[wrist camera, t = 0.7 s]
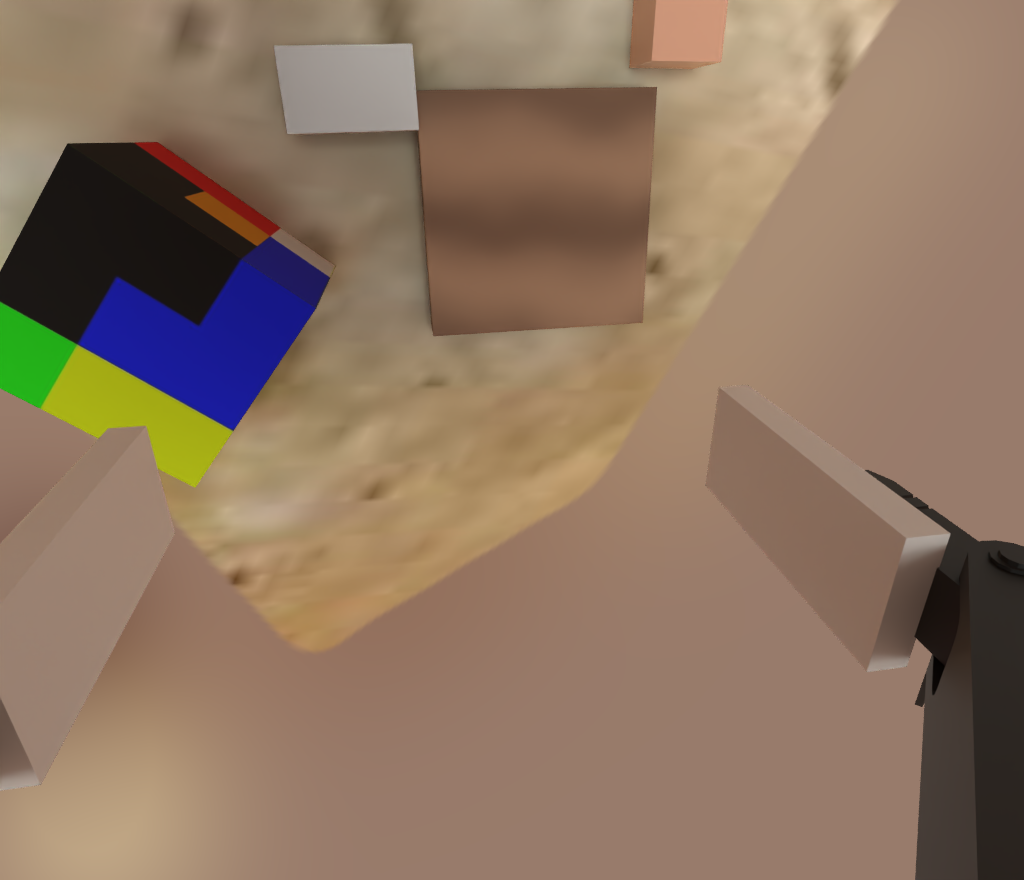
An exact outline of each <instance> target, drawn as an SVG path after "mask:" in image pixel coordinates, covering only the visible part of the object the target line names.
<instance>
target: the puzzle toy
mask: <svg viewBox="0 0 1024 880" xmlns="http://www.w3.org/2000/svg"><path fill="white" fill-rule="evenodd" d="M335 267H336V266H334V265H333V264H332V263H330V262H329V261H327V260H326V259H324V258H323V257H322V256H320V255H319V254H317V253H316V252H314V251H313V250H311V249H310V248H309V247H307V246H306V245H304V244H303V243H301V242H300V241H299V240H297V239H296V238H294V237H293V236H291V235H290V234H289V233H287V232H286V231H284V230H283V229H281V228H280V227H278V226H277V225H276V224H274V223H273V222H271V221H270V220H268V219H267V218H266V217H264V216H263V215H261V214H260V213H258V212H257V211H255V210H254V209H253V208H251V207H250V206H248V205H247V204H245V203H244V202H243V201H241V200H240V199H238V198H237V197H235V196H234V195H233V194H231V193H230V192H228V191H227V190H225V189H224V188H222V187H221V186H220V185H218V184H217V183H215V182H214V181H212V180H211V179H210V178H208V177H207V176H205V175H204V174H202V173H201V172H199V171H198V170H197V169H195V168H194V167H192V166H191V165H189V164H188V163H187V162H185V161H184V160H182V159H181V158H179V157H178V156H177V155H175V154H174V153H172V152H171V151H169V150H168V149H166V148H165V147H164V146H162V145H161V144H159V143H158V142H139V143H72V144H67V145H66V147H65V149H64V151H63V153H62V155H61V157H60V159H59V161H58V163H57V165H56V166H55V168H54V170H53V172H52V174H51V176H50V178H49V180H48V182H47V184H46V185H45V187H44V189H43V191H42V193H41V195H40V197H39V199H38V201H37V203H36V204H35V206H34V208H33V210H32V212H31V214H30V216H29V218H28V220H27V222H26V223H25V225H24V227H23V229H22V231H21V233H20V235H19V237H18V239H17V241H16V242H15V244H14V246H13V248H12V250H11V252H10V254H9V256H8V258H7V260H6V261H5V263H4V265H3V267H2V269H1V271H0V388H1V389H3V390H5V391H7V392H8V393H10V394H12V395H14V396H16V397H18V398H20V399H22V400H24V401H26V402H28V403H30V404H32V405H34V406H36V407H38V408H40V409H42V410H44V411H46V412H48V413H50V414H52V415H54V416H56V417H58V418H60V419H62V420H63V421H65V422H67V423H69V424H71V425H73V426H75V427H77V428H79V429H81V430H83V431H85V432H87V433H89V434H91V435H93V436H95V437H97V438H100V437H101V436H102V434H103V433H104V432H105V431H106V430H107V429H108V428H121V427H136V426H146V427H147V431H148V434H149V438H150V442H151V446H152V449H153V453H154V457H155V460H156V464H157V468H158V469H160V470H161V471H163V472H165V473H167V474H169V475H171V476H173V477H175V478H177V479H179V480H181V481H183V482H185V483H187V484H189V485H191V486H193V487H196V486H197V484H198V483H199V481H200V480H201V478H202V477H203V475H204V474H205V472H206V471H207V469H208V468H209V466H210V465H211V463H212V462H213V460H214V459H215V457H216V456H217V454H218V453H219V451H220V450H221V448H222V447H223V446H224V444H225V443H226V441H227V440H228V438H229V437H230V435H231V434H232V432H233V431H234V429H235V428H236V426H237V425H238V423H239V422H240V420H241V419H242V417H243V416H244V414H245V413H246V411H247V410H248V408H249V407H250V405H251V404H252V403H253V401H254V400H255V398H256V397H257V395H258V394H259V392H260V391H261V389H262V388H263V386H264V385H265V383H266V382H267V380H268V379H269V377H270V376H271V374H272V373H273V371H274V370H275V368H276V367H277V365H278V364H279V362H280V361H281V360H282V358H283V357H284V355H285V354H286V352H287V351H288V349H289V348H290V346H291V345H292V343H293V342H294V340H295V339H296V337H297V336H298V334H299V333H300V331H301V330H302V328H303V327H304V325H305V324H306V322H307V321H308V319H309V318H310V316H311V315H312V314H313V312H314V311H315V309H316V307H317V305H318V303H319V301H320V299H321V297H322V295H323V292H324V290H325V288H326V286H327V284H328V282H329V279H330V277H331V275H332V273H333V271H334V269H335Z"/></svg>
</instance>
